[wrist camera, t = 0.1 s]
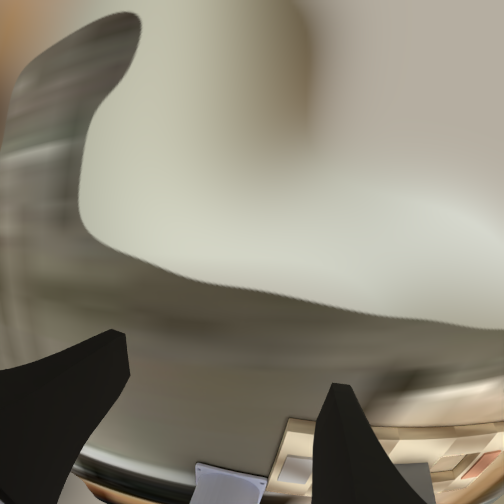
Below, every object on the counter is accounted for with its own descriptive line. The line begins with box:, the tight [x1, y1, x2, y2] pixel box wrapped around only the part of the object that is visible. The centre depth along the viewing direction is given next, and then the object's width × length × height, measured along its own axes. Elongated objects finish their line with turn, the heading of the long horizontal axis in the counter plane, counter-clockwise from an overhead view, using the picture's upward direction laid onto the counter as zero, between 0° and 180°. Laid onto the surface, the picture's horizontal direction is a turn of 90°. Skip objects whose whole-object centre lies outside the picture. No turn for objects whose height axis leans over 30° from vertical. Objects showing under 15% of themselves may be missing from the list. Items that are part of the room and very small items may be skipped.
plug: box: [394, 462, 436, 504], centre depth 18 cm, size 4×4×7 cm
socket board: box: [266, 418, 504, 496], centre depth 22 cm, size 12×26×2 cm, turn 83°
